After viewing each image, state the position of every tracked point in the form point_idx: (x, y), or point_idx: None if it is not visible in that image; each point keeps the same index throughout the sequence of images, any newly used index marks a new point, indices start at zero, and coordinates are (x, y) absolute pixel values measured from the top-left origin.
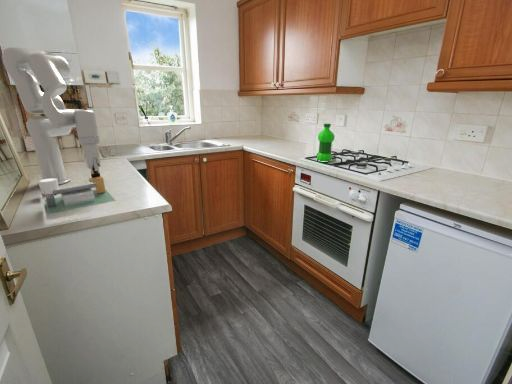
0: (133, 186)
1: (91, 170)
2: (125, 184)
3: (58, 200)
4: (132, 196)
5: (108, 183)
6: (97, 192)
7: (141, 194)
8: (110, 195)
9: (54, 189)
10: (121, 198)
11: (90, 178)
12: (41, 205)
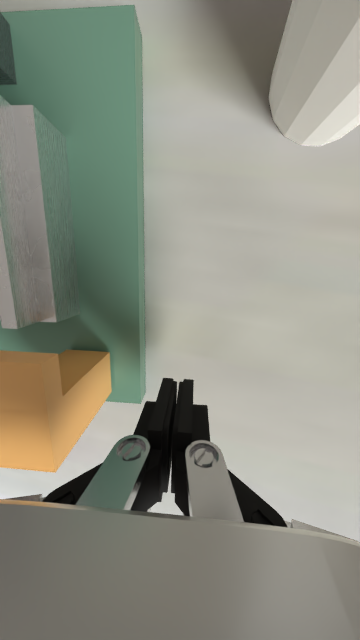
0: (168, 512)
1: (186, 478)
2: None
3: (58, 109)
4: None
5: (326, 448)
6: (68, 351)
7: (21, 491)
8: None
9: (291, 72)
10: None
11: (29, 379)
12: (108, 5)
